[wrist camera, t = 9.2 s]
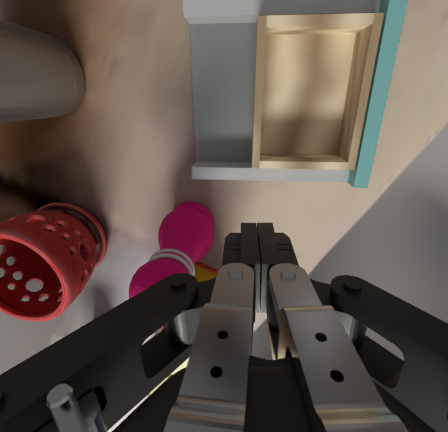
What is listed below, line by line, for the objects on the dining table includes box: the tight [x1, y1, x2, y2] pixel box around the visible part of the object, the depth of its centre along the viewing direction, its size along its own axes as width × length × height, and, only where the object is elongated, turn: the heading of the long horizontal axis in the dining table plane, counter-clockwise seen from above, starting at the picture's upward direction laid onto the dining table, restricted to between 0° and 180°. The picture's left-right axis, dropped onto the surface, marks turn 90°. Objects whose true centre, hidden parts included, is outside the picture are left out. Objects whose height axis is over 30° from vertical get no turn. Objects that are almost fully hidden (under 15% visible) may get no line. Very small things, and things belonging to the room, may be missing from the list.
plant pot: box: [0, 202, 107, 321], centre depth 38 cm, size 13×13×12 cm
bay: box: [183, 0, 407, 188], centre depth 31 cm, size 20×18×6 cm
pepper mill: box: [129, 202, 214, 299], centre depth 32 cm, size 7×7×20 cm
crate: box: [251, 13, 384, 170], centre depth 30 cm, size 11×14×5 cm
